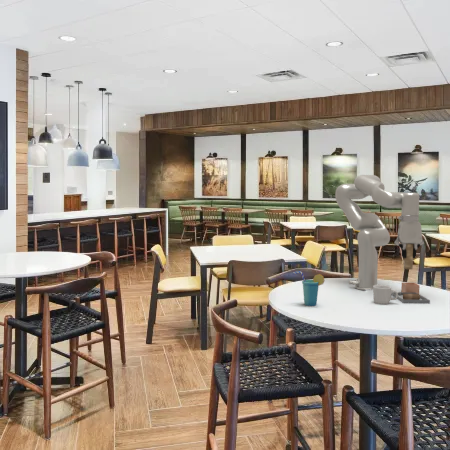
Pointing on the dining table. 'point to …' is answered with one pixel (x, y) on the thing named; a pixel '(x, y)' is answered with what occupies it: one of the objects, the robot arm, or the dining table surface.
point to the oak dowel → (409, 256)
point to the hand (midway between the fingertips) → (408, 257)
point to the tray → (423, 301)
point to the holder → (410, 287)
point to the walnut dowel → (411, 296)
